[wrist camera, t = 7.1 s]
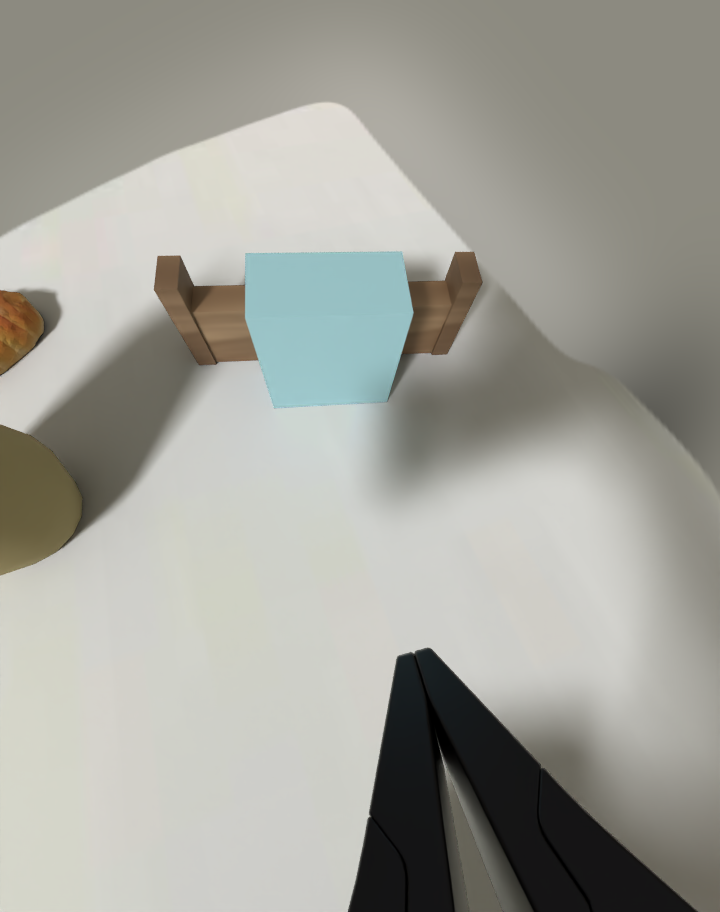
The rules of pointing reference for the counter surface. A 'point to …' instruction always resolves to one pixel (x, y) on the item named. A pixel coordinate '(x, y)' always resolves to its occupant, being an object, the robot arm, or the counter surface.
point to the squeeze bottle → (33, 501)
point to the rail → (227, 335)
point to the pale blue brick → (327, 324)
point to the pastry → (17, 328)
